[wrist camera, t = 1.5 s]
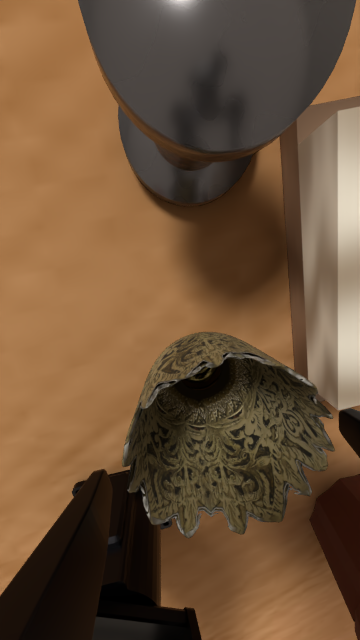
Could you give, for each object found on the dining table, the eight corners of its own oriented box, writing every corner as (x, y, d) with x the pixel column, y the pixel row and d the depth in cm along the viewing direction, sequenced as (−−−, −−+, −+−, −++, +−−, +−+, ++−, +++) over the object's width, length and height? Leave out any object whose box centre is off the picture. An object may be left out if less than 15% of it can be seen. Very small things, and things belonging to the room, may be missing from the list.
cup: (259, 315, 14) (371, 375, 7) (235, 408, 16) (303, 540, 9) (148, 300, 14) (132, 351, 6) (136, 401, 15) (113, 541, 8)
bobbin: (258, 193, 12) (357, 124, 6) (140, 217, 12) (120, 172, 6) (244, 36, 11) (365, -288, 4) (103, 62, 10) (18, -242, 4)
